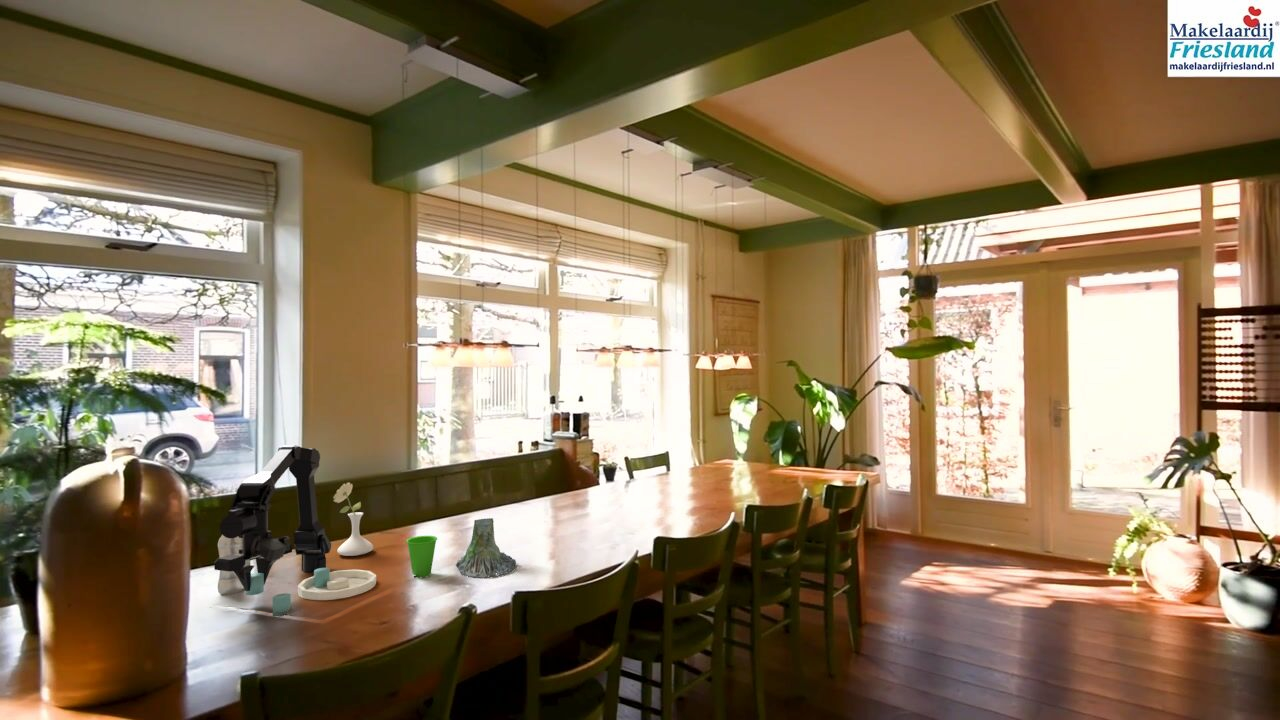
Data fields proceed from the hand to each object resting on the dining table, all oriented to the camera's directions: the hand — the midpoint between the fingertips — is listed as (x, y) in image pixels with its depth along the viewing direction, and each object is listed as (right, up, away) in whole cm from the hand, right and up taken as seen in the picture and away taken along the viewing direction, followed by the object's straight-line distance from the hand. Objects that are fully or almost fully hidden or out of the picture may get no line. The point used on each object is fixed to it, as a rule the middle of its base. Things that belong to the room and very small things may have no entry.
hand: (254, 588), depth 167 cm
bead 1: (0, -1, 0) cm, 1 cm away
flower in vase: (+3, -7, +51) cm, 51 cm away
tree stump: (+52, -6, +34) cm, 63 cm away
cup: (+34, -6, +28) cm, 45 cm away
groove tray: (+15, -6, +14) cm, 21 cm away
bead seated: (+10, -5, +16) cm, 19 cm away
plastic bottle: (-14, -6, +12) cm, 19 cm away
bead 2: (+9, -6, -3) cm, 11 cm away
